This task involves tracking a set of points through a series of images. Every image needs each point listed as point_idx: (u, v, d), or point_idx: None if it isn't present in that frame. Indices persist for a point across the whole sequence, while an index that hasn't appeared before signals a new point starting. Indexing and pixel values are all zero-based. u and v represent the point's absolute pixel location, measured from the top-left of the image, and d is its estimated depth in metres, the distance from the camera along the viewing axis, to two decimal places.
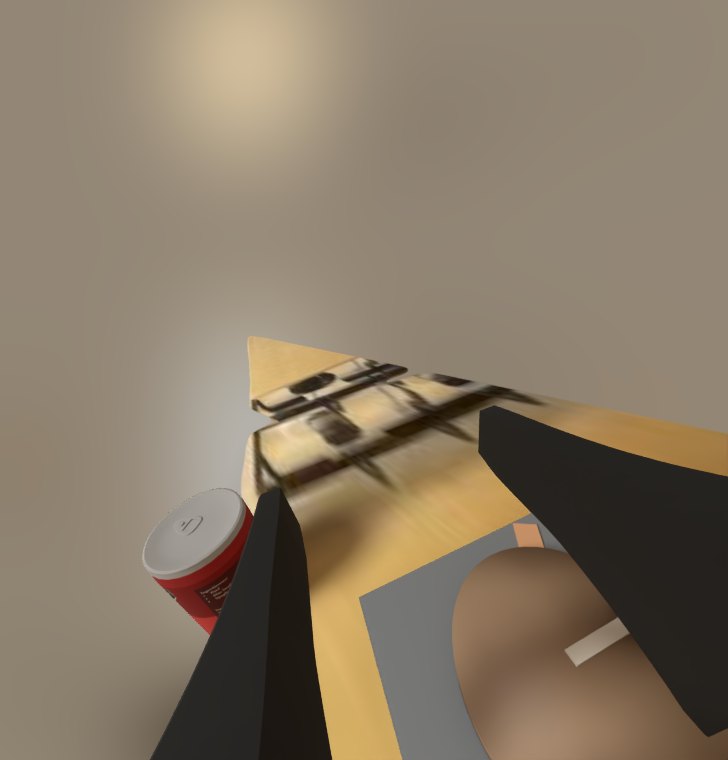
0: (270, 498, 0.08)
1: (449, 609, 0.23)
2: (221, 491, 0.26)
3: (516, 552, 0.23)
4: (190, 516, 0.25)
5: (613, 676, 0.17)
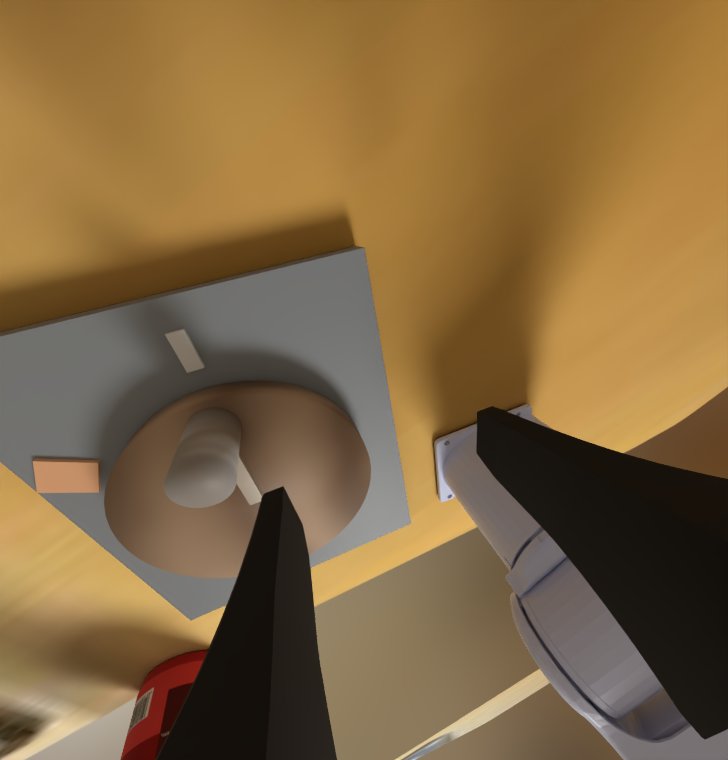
0: (273, 497, 0.08)
1: None
2: None
3: (119, 524, 0.14)
4: None
5: (272, 474, 0.16)
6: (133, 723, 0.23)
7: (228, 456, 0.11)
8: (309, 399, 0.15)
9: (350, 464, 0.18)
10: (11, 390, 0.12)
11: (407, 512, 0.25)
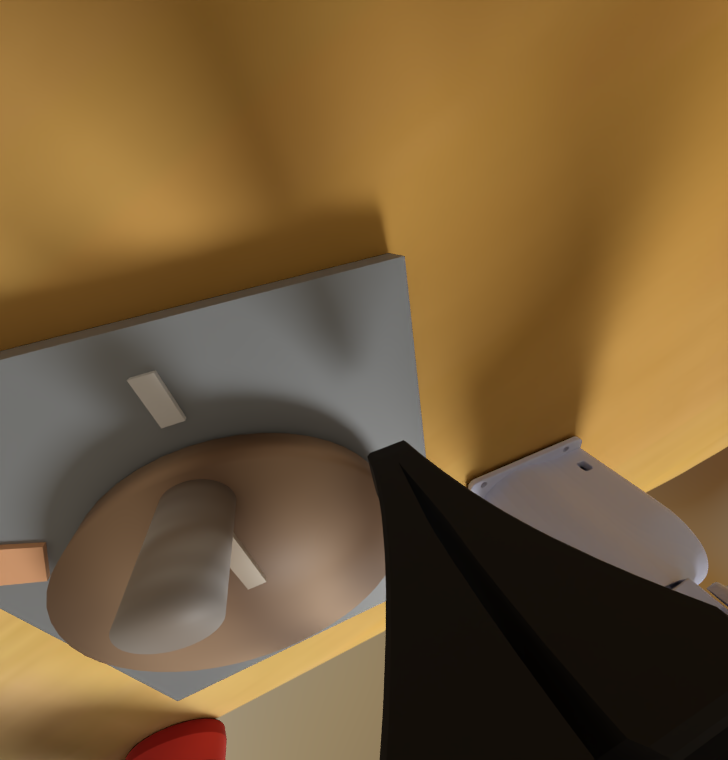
0: (382, 455, 0.09)
1: None
2: None
3: (71, 629, 0.11)
4: None
5: (277, 550, 0.12)
6: None
7: (213, 575, 0.07)
8: (326, 458, 0.11)
9: (376, 530, 0.14)
10: None
11: None
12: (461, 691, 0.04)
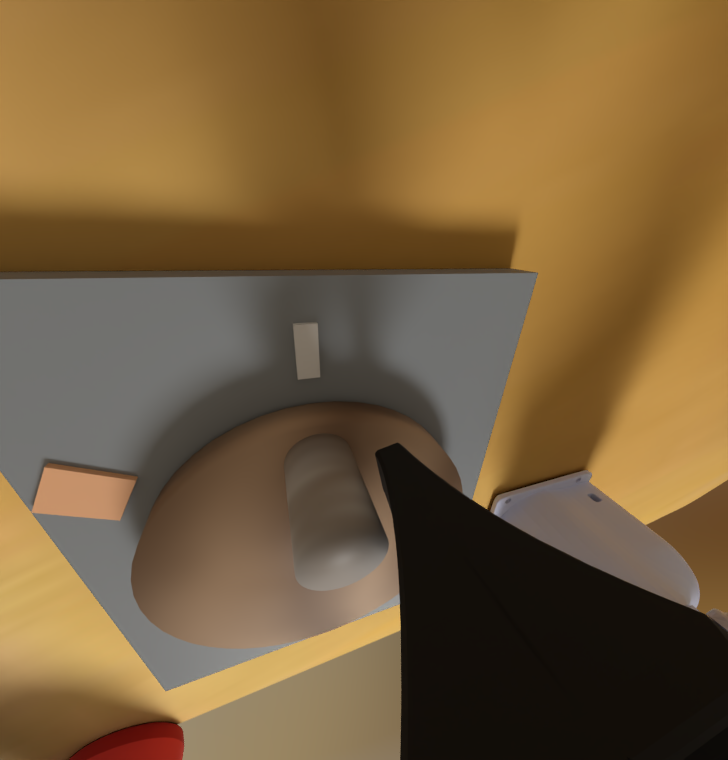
0: (390, 452, 0.09)
1: None
2: None
3: (144, 576, 0.10)
4: None
5: None
6: None
7: (379, 518, 0.08)
8: (430, 439, 0.12)
9: None
10: (52, 360, 0.08)
11: None
12: (479, 681, 0.04)
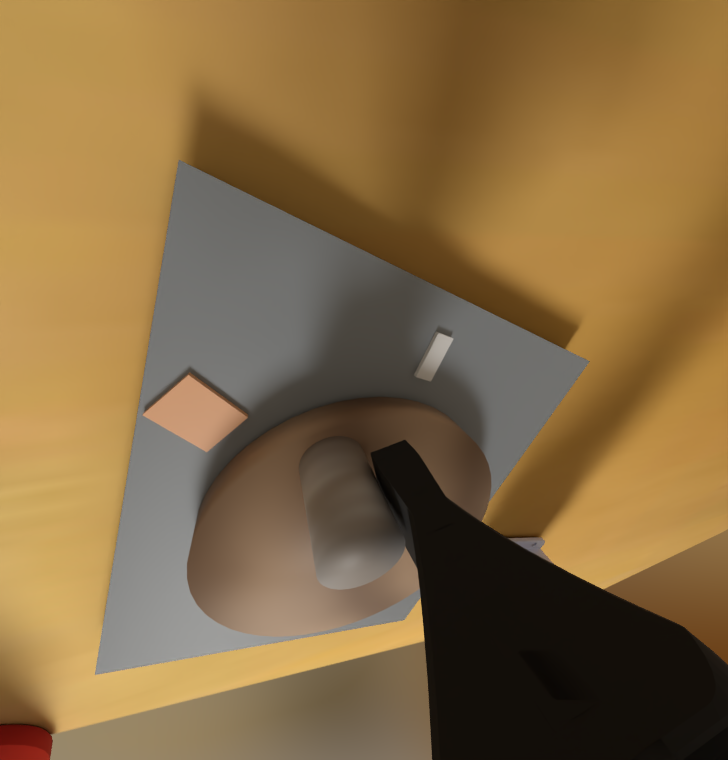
0: (401, 447, 0.09)
1: None
2: None
3: (201, 587, 0.11)
4: None
5: None
6: None
7: (392, 515, 0.08)
8: (442, 420, 0.12)
9: (469, 497, 0.14)
10: (262, 285, 0.09)
11: (412, 606, 0.22)
12: (505, 664, 0.04)
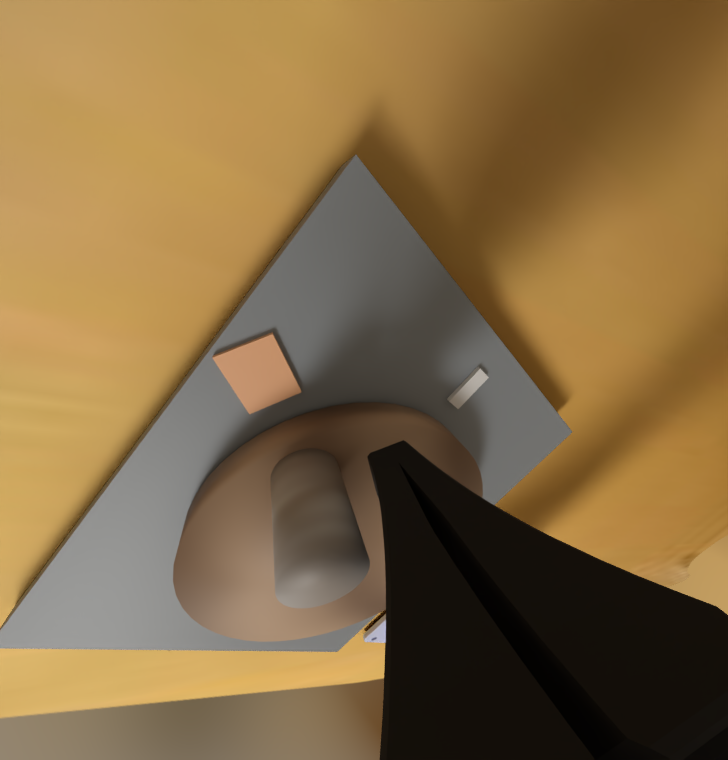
0: (382, 455, 0.09)
1: (172, 560, 0.12)
2: None
3: (192, 601, 0.11)
4: None
5: (371, 519, 0.12)
6: None
7: (354, 530, 0.08)
8: (418, 423, 0.11)
9: None
10: (368, 278, 0.10)
11: (350, 637, 0.21)
12: (461, 691, 0.04)
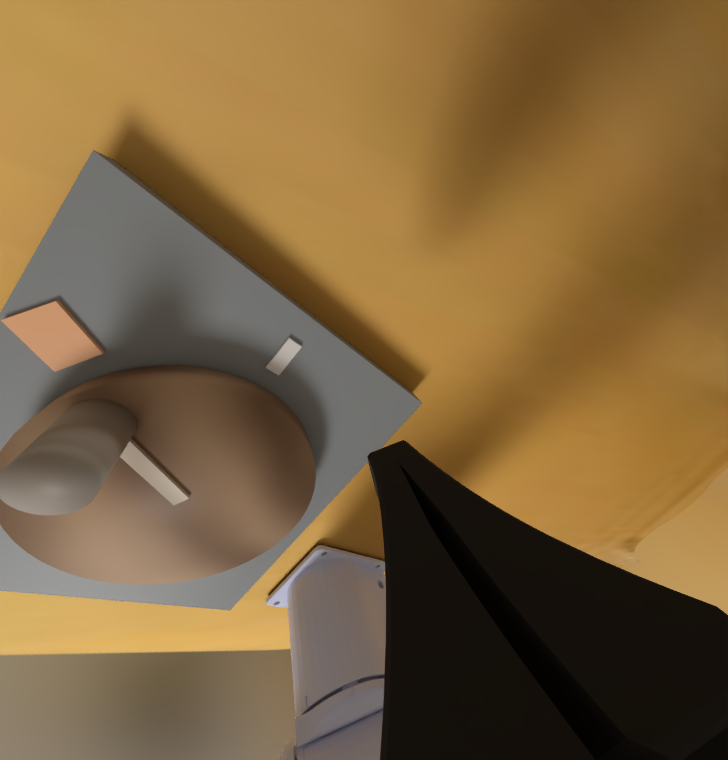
0: (382, 455, 0.09)
1: None
2: None
3: (22, 536, 0.13)
4: None
5: (192, 469, 0.14)
6: None
7: (82, 453, 0.09)
8: (214, 381, 0.13)
9: (285, 452, 0.16)
10: (142, 255, 0.11)
11: (240, 596, 0.23)
12: (461, 691, 0.04)
